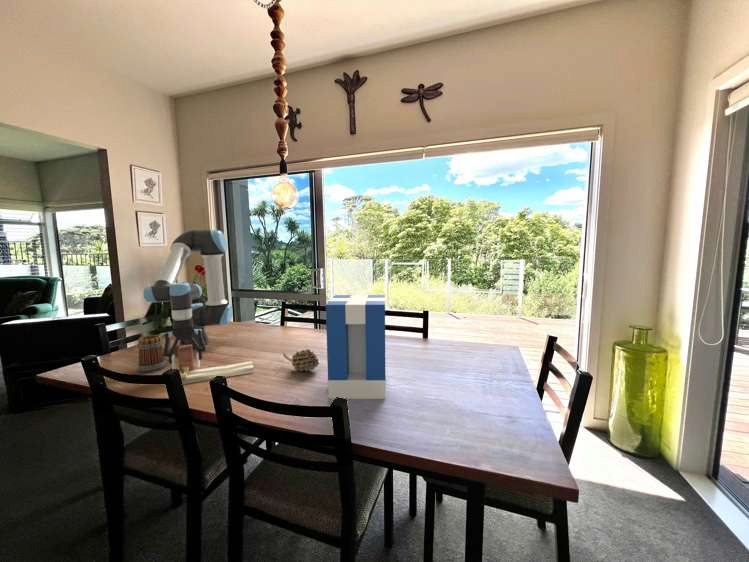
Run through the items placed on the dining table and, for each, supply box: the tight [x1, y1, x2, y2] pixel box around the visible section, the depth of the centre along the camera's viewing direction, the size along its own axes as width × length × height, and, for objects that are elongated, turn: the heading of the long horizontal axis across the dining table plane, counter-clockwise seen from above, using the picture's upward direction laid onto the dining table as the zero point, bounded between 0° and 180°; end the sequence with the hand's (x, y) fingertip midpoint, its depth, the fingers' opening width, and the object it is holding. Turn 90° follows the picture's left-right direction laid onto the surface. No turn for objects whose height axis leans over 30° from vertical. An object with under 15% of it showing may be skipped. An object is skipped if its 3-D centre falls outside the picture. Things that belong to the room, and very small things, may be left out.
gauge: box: [177, 345, 195, 379], centre depth 133 cm, size 14×5×12 cm, turn 24°
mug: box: [137, 332, 171, 374], centre depth 146 cm, size 16×11×15 cm
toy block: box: [325, 294, 387, 400], centre depth 123 cm, size 21×21×35 cm
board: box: [182, 361, 254, 385], centre depth 137 cm, size 9×30×2 cm, turn 114°
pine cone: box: [282, 348, 320, 372], centre depth 142 cm, size 22×10×10 cm, turn 62°
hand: (186, 368), depth 138 cm, fingers open, 9 cm apart
